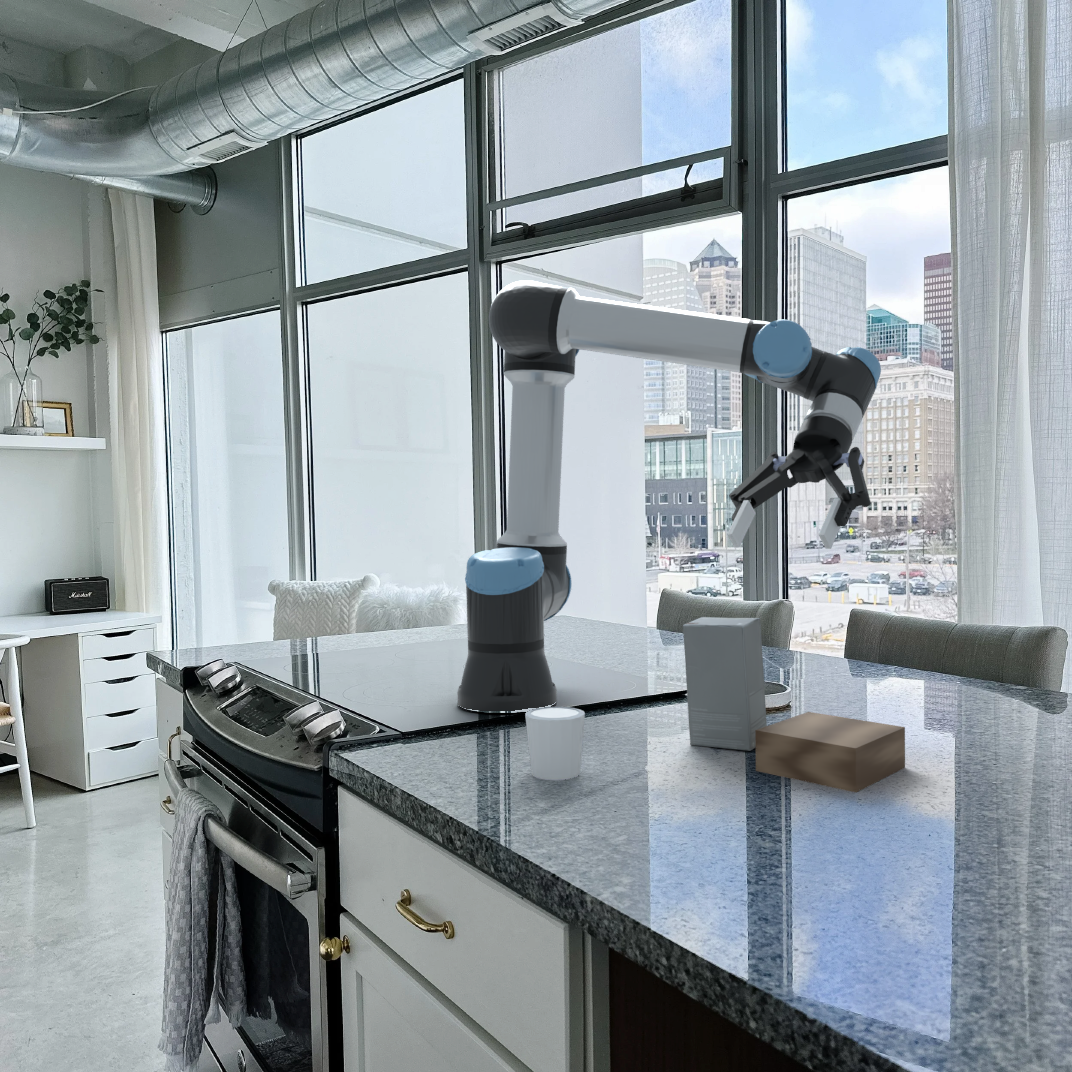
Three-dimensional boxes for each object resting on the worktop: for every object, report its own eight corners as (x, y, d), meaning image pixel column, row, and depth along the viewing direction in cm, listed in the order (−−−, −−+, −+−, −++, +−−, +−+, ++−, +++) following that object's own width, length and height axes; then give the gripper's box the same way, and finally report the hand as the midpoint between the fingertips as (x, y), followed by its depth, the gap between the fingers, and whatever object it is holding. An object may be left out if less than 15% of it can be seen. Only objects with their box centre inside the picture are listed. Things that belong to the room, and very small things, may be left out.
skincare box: (768, 741, 121) (766, 616, 120) (748, 754, 115) (747, 624, 114) (705, 733, 125) (703, 613, 124) (683, 746, 119) (681, 620, 118)
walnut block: (755, 773, 108) (755, 730, 108) (808, 752, 117) (808, 711, 116) (855, 795, 100) (855, 748, 99) (905, 770, 108) (904, 727, 108)
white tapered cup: (581, 783, 105) (580, 720, 104) (520, 780, 106) (518, 718, 106) (590, 765, 111) (589, 706, 111) (532, 763, 113) (531, 704, 112)
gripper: (921, 445, 131) (876, 562, 121) (760, 455, 148) (709, 557, 138) (905, 405, 127) (857, 521, 117) (741, 419, 144) (687, 522, 134)
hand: (777, 541), depth 127 cm, fingers open, 13 cm apart
